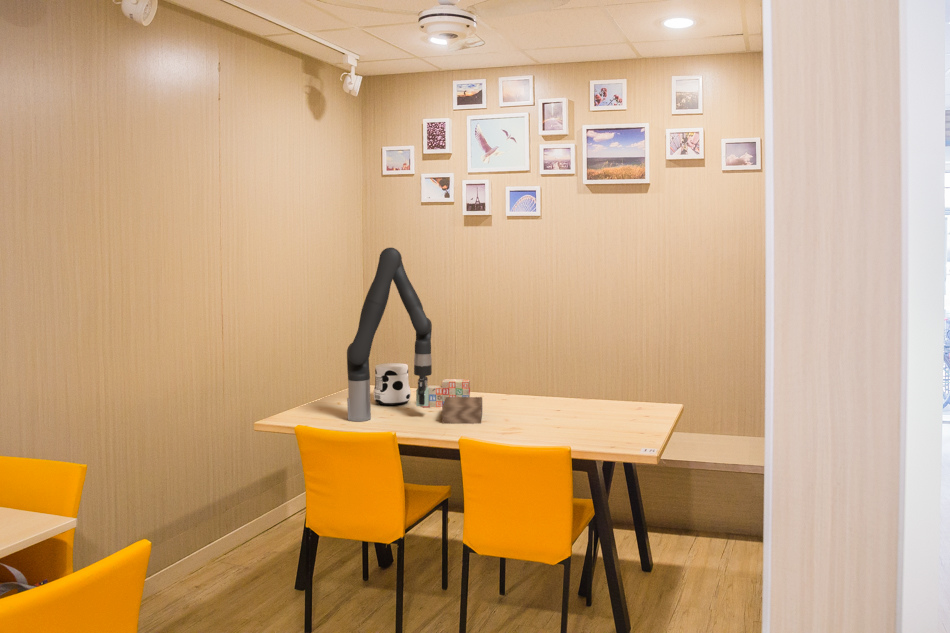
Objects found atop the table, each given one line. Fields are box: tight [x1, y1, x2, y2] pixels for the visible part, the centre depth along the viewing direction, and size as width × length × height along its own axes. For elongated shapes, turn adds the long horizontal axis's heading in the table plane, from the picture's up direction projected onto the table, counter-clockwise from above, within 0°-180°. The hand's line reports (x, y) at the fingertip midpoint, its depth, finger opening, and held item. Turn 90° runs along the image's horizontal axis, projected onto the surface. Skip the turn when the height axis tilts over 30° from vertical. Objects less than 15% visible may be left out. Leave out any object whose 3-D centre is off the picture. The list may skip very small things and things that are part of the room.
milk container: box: [373, 362, 412, 406], centre depth 354 cm, size 17×17×18 cm
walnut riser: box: [441, 396, 483, 424], centre depth 323 cm, size 16×20×7 cm
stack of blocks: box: [422, 378, 471, 408], centre depth 346 cm, size 21×6×12 cm, turn 85°
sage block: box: [415, 387, 429, 407], centre depth 324 cm, size 5×5×7 cm
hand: (422, 402), depth 325 cm, fingers closed on sage block, 5 cm apart
